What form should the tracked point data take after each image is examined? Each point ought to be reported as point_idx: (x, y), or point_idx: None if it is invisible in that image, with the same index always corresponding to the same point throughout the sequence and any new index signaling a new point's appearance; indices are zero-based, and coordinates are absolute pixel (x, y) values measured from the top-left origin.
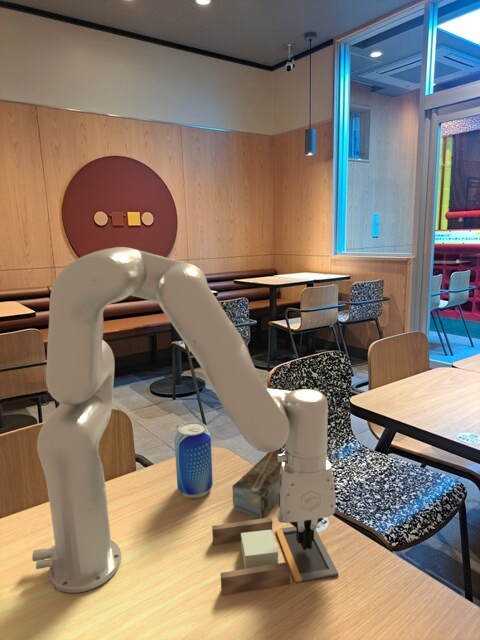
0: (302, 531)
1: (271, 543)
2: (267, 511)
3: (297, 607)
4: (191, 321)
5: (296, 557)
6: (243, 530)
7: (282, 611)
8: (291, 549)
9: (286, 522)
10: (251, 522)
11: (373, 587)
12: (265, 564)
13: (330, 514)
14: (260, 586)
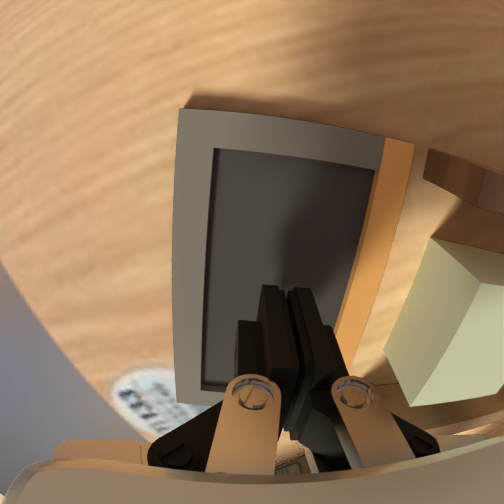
0: (342, 377)
1: (465, 339)
2: (305, 458)
3: (444, 35)
4: None
5: (331, 275)
6: (453, 407)
7: (491, 54)
8: (327, 320)
9: (448, 437)
10: (432, 433)
11: (66, 21)
12: (486, 260)
13: (63, 482)
14: None
